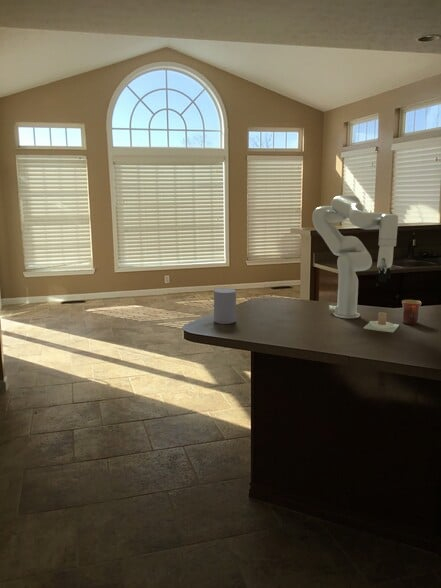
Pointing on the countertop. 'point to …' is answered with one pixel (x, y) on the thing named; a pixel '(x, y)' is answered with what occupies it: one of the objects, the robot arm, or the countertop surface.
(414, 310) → the mug
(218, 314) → the container
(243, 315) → the countertop surface
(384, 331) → the mat
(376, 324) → the lid
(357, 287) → the robot arm
